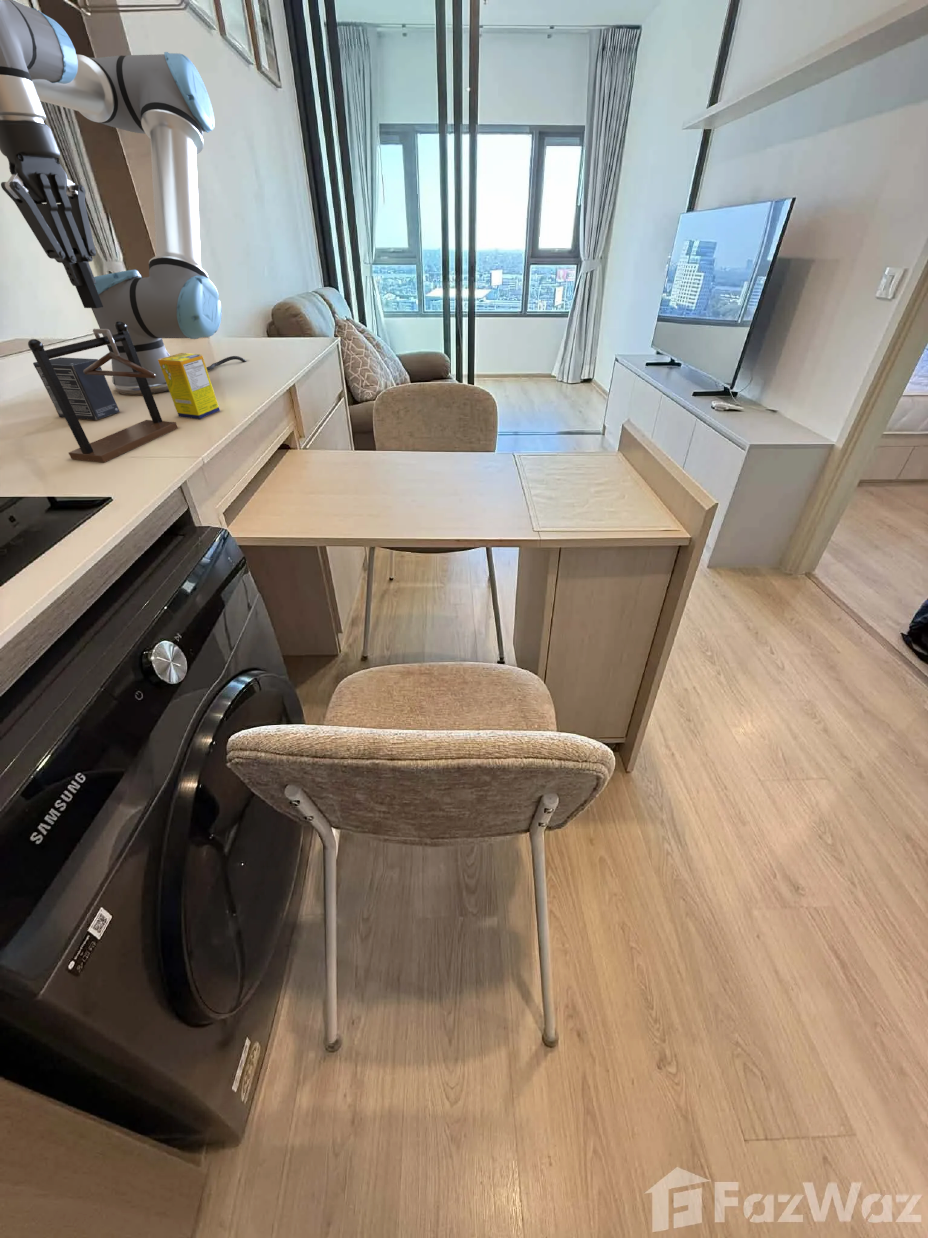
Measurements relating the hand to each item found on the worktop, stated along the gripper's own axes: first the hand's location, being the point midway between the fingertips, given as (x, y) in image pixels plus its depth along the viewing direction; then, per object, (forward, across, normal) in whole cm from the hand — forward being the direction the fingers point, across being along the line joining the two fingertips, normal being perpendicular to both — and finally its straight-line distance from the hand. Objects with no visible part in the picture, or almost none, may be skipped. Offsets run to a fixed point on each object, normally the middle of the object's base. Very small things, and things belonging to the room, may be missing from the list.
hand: (93, 307), depth 90 cm
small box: (+20, -2, -15) cm, 25 cm away
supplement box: (+20, -8, +8) cm, 23 cm away
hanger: (+10, +6, +7) cm, 13 cm away
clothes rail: (+20, +10, +6) cm, 23 cm away
